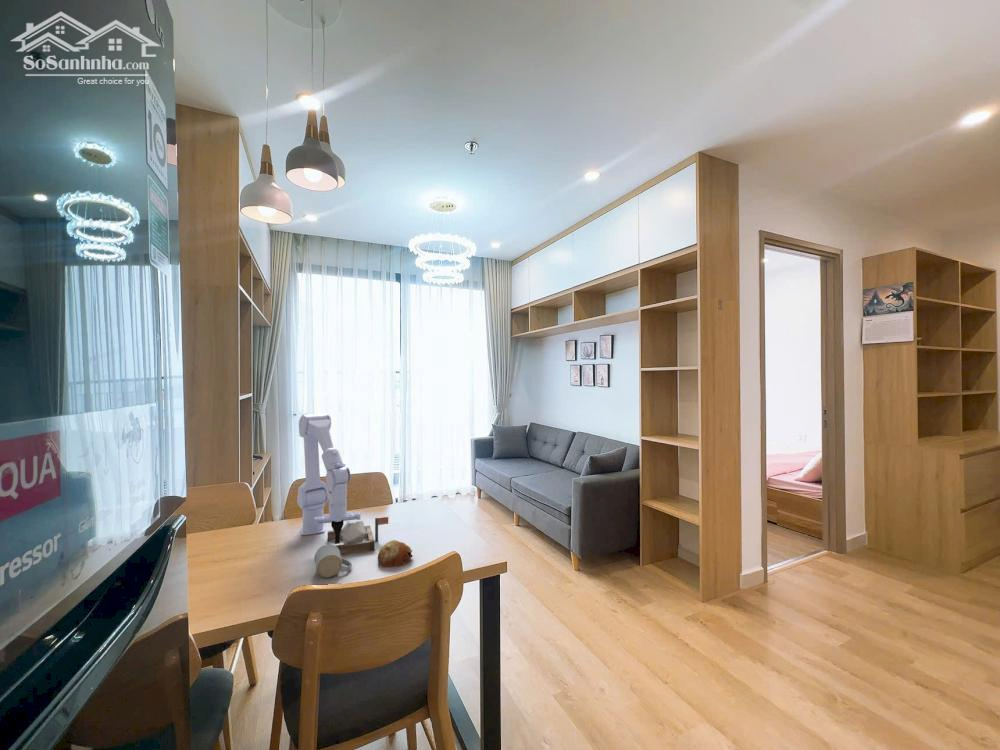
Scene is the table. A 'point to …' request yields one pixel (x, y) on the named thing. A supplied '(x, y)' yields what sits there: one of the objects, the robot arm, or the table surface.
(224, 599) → the table surface
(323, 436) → the robot arm
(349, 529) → the die
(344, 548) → the wooden tray
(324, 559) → the ceramic mug
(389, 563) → the bread roll
